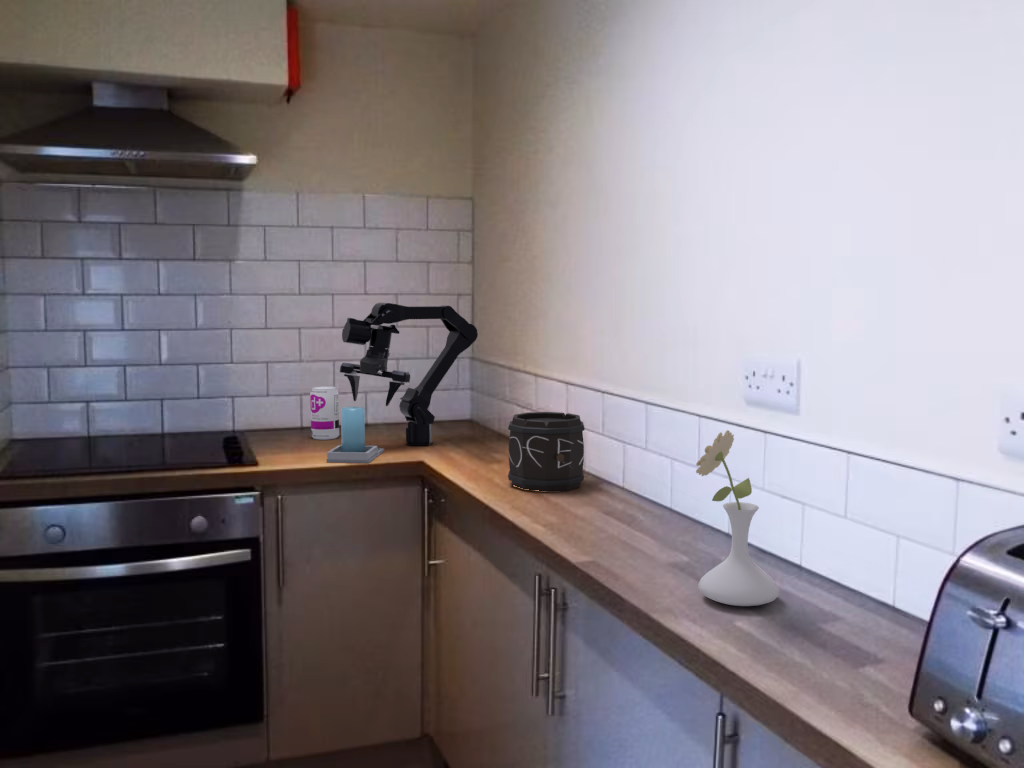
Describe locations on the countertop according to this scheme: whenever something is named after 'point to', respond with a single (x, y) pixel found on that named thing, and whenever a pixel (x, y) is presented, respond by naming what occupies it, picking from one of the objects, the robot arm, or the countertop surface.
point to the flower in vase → (734, 541)
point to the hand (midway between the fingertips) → (370, 403)
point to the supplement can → (324, 413)
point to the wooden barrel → (546, 451)
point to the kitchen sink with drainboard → (353, 455)
